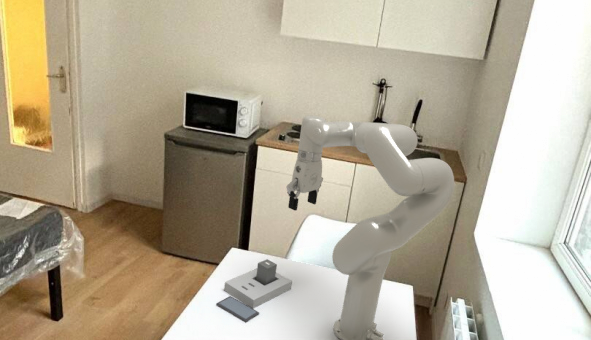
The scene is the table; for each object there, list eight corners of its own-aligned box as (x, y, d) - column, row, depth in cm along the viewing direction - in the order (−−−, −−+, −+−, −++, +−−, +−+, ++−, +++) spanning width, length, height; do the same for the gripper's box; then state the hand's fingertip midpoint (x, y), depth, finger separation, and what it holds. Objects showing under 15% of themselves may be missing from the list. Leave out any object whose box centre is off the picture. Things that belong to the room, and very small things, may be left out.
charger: (274, 285, 160) (276, 264, 158) (264, 290, 157) (267, 268, 154) (264, 280, 163) (267, 258, 160) (255, 284, 159) (257, 262, 157)
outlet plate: (291, 289, 160) (292, 280, 160) (252, 308, 147) (253, 299, 146) (262, 273, 168) (263, 265, 167) (224, 290, 155) (225, 281, 154)
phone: (258, 315, 145) (259, 312, 144) (245, 324, 140) (246, 320, 140) (229, 299, 151) (230, 295, 151) (216, 306, 146) (216, 303, 146)
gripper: (301, 162, 142) (293, 215, 147) (335, 155, 155) (327, 204, 160) (282, 155, 147) (275, 207, 152) (316, 149, 160) (309, 197, 165)
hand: (302, 205), depth 156 cm, fingers open, 9 cm apart
